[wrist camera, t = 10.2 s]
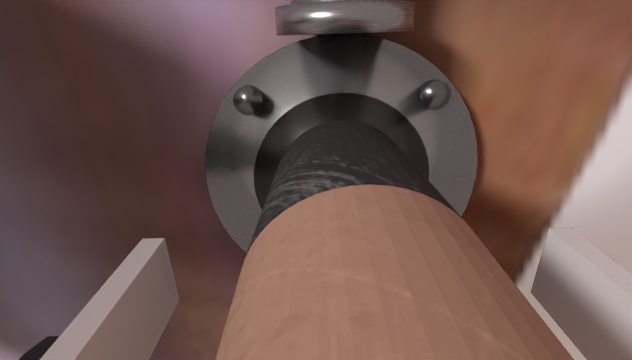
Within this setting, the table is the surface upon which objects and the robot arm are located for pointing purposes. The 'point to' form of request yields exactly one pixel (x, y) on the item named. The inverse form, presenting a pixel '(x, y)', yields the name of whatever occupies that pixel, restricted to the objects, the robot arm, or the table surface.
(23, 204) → the table surface
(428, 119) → the fitting
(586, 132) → the table surface
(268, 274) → the travel mug
